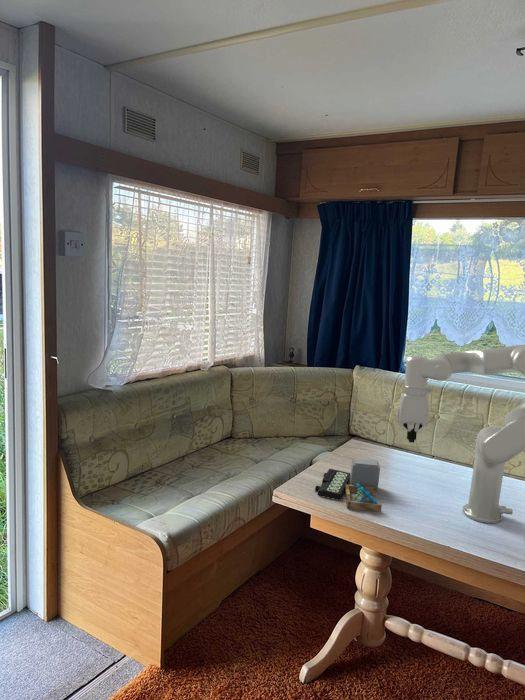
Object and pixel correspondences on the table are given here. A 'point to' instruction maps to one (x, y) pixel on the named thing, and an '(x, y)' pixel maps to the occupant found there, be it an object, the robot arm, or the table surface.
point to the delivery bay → (361, 504)
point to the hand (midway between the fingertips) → (411, 441)
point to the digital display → (333, 484)
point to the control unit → (364, 472)
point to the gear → (364, 494)
